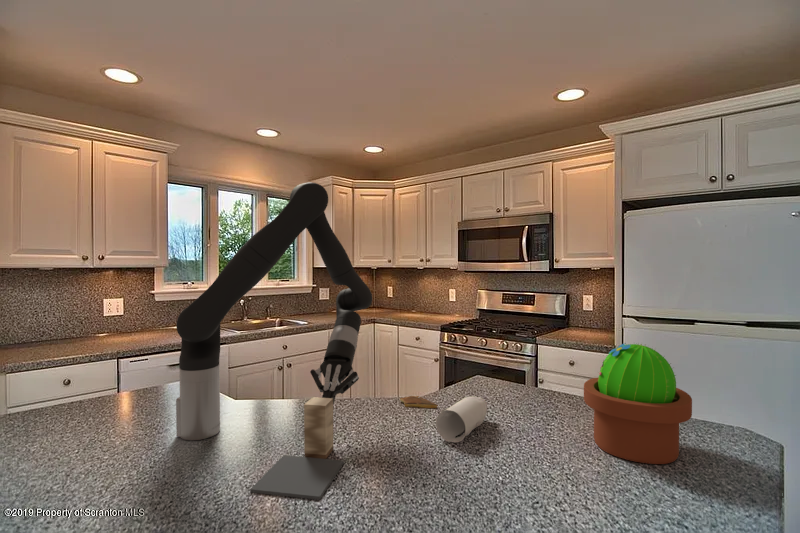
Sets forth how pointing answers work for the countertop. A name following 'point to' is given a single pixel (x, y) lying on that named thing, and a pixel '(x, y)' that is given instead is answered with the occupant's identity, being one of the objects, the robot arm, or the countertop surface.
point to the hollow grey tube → (461, 418)
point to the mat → (298, 477)
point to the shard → (417, 402)
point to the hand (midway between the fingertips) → (326, 407)
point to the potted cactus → (637, 405)
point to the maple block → (318, 427)
